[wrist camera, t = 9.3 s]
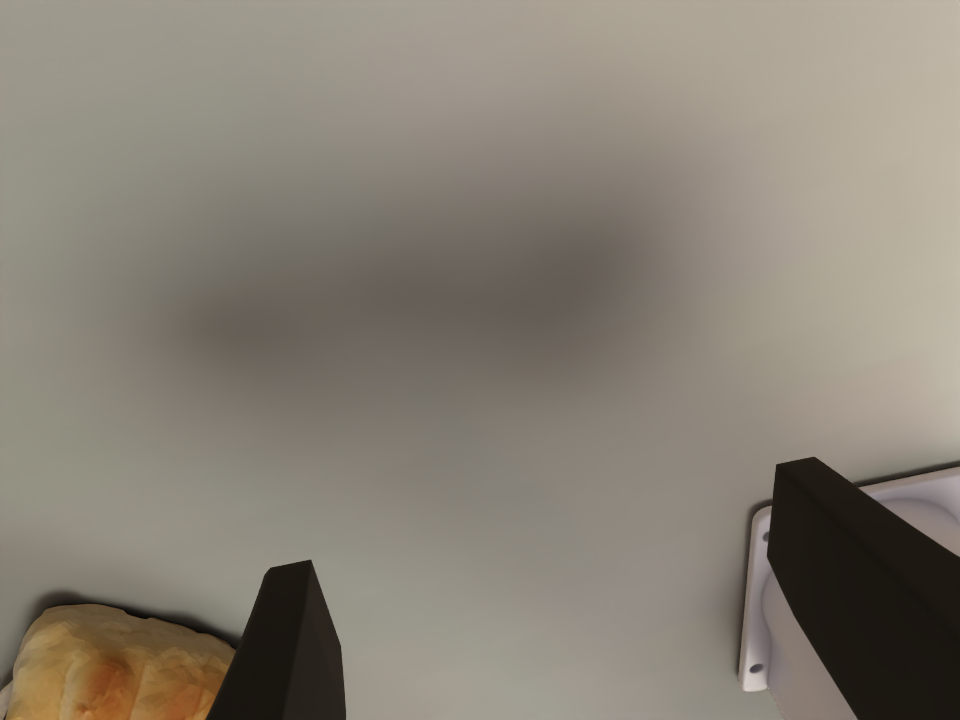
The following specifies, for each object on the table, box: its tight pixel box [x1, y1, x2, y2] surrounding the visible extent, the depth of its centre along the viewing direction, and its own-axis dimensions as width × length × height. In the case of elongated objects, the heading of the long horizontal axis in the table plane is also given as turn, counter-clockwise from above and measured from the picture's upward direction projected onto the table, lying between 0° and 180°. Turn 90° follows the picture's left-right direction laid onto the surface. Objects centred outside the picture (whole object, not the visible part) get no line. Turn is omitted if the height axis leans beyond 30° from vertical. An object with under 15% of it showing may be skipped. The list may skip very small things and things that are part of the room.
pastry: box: [0, 604, 236, 720], centre depth 25 cm, size 9×7×4 cm
